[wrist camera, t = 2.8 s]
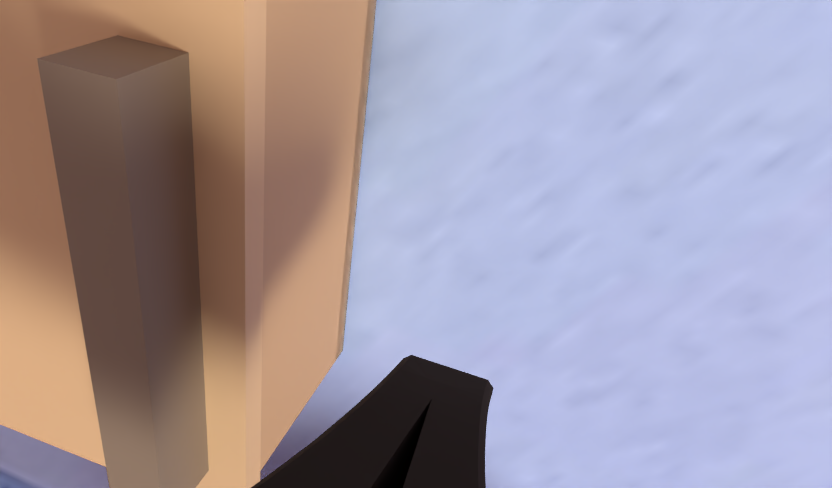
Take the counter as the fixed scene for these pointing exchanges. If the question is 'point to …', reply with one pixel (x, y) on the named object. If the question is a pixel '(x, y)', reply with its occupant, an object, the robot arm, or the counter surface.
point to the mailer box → (309, 194)
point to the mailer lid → (134, 234)
